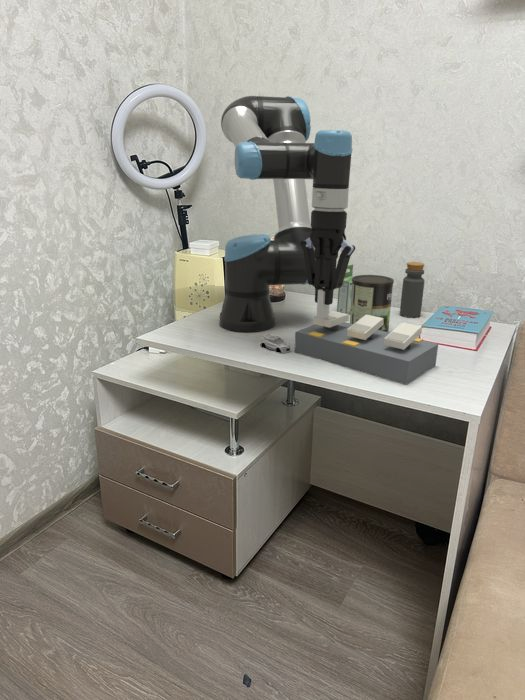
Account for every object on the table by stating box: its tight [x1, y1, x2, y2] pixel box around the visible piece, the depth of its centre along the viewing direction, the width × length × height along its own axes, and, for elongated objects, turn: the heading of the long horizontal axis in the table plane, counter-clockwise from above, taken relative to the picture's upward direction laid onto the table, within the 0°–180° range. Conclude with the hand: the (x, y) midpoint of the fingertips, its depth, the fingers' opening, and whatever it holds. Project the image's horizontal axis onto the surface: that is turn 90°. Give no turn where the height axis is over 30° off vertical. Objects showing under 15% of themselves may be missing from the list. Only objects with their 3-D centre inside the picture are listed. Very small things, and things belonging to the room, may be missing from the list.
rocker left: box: [312, 310, 350, 328], centre depth 122 cm, size 4×8×2 cm, turn 139°
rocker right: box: [384, 321, 423, 350], centre depth 111 cm, size 4×8×2 cm, turn 139°
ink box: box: [336, 264, 355, 315], centre depth 153 cm, size 7×4×13 cm, turn 136°
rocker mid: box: [347, 315, 384, 340], centre depth 116 cm, size 4×8×2 cm, turn 139°
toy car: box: [259, 333, 292, 354], centre depth 124 cm, size 4×8×3 cm, turn 46°
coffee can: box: [349, 274, 395, 332], centre depth 135 cm, size 10×10×14 cm
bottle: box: [399, 261, 425, 319], centre depth 150 cm, size 6×6×15 cm
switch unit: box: [294, 322, 439, 386], centre depth 118 cm, size 28×14×6 cm, turn 49°
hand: (322, 317), depth 118 cm, fingers closed
